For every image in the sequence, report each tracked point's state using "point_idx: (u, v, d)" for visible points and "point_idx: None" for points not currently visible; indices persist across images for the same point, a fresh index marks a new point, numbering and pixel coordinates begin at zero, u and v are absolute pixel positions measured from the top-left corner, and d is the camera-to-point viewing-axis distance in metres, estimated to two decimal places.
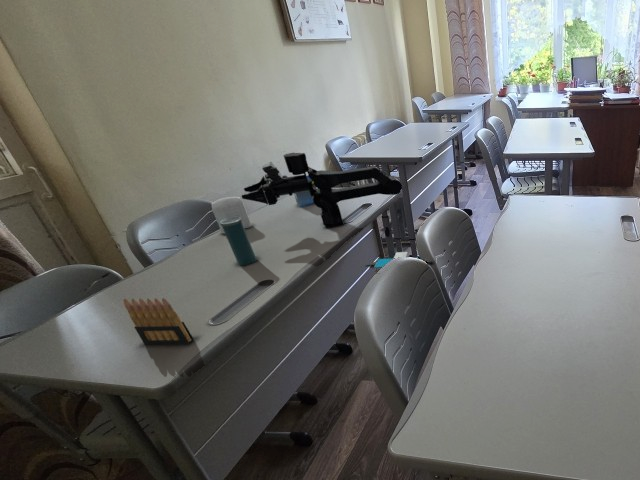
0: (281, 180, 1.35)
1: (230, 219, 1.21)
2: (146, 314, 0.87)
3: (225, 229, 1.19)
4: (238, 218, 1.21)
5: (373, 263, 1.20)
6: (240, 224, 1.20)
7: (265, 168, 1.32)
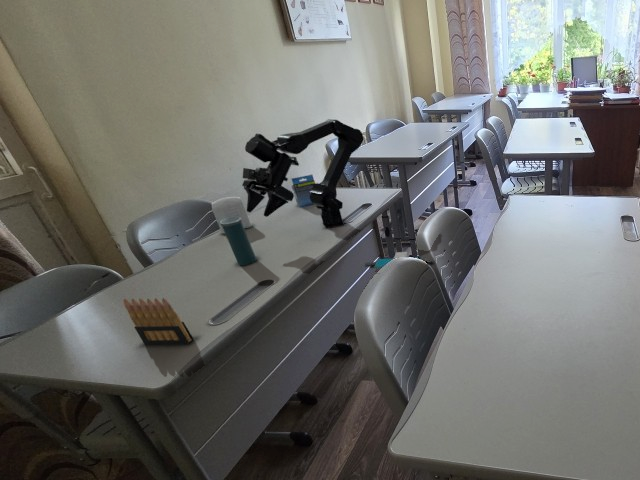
0: (270, 174, 1.24)
1: (230, 219, 1.21)
2: (146, 314, 0.87)
3: (225, 229, 1.19)
4: (238, 218, 1.21)
5: (373, 263, 1.20)
6: (240, 224, 1.20)
7: (251, 176, 1.20)
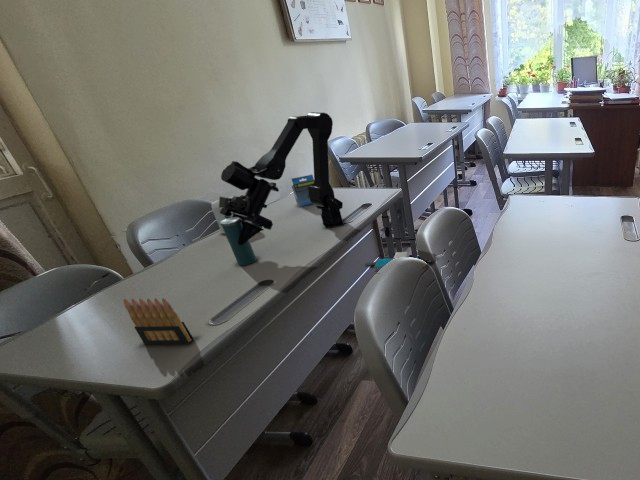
0: (248, 202, 1.21)
1: (231, 219, 1.21)
2: (146, 314, 0.87)
3: (225, 229, 1.18)
4: (238, 218, 1.21)
5: (373, 263, 1.20)
6: (240, 224, 1.20)
7: (227, 206, 1.16)
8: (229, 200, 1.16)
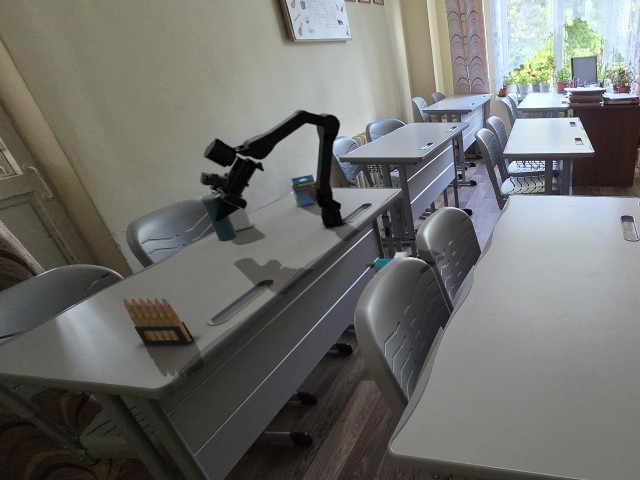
0: (227, 180, 1.21)
1: (212, 195, 1.23)
2: (146, 314, 0.87)
3: (204, 204, 1.21)
4: (218, 195, 1.23)
5: (373, 263, 1.20)
6: (218, 201, 1.22)
7: (205, 182, 1.18)
8: (206, 176, 1.17)
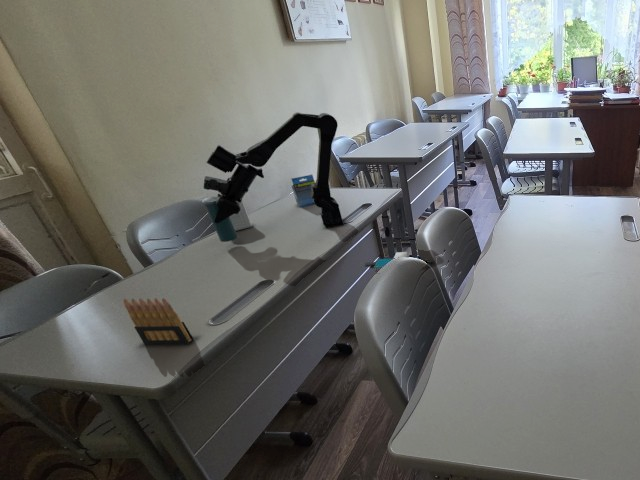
0: (227, 185, 1.28)
1: (215, 197, 1.30)
2: (146, 314, 0.87)
3: (205, 206, 1.29)
4: None
5: (373, 263, 1.20)
6: None
7: (205, 186, 1.25)
8: (205, 181, 1.24)
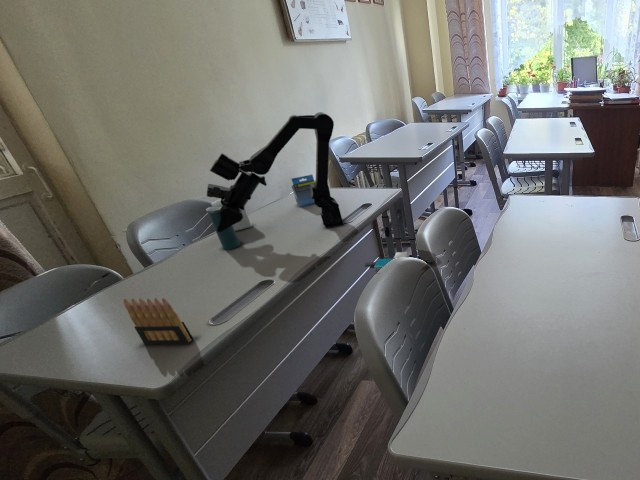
0: (230, 193, 1.29)
1: (218, 206, 1.32)
2: (146, 314, 0.87)
3: (209, 215, 1.30)
4: None
5: (373, 263, 1.20)
6: None
7: (208, 193, 1.26)
8: (208, 189, 1.25)
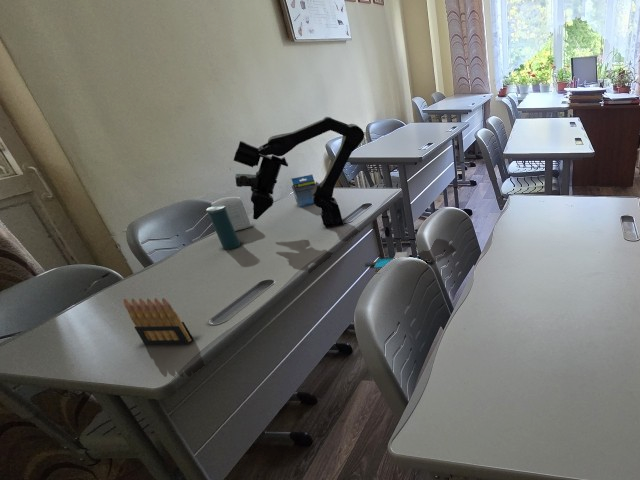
0: (256, 179, 1.32)
1: (218, 206, 1.32)
2: (146, 314, 0.87)
3: (209, 215, 1.30)
4: (222, 207, 1.31)
5: (373, 263, 1.20)
6: (221, 213, 1.30)
7: (237, 183, 1.30)
8: (236, 179, 1.29)
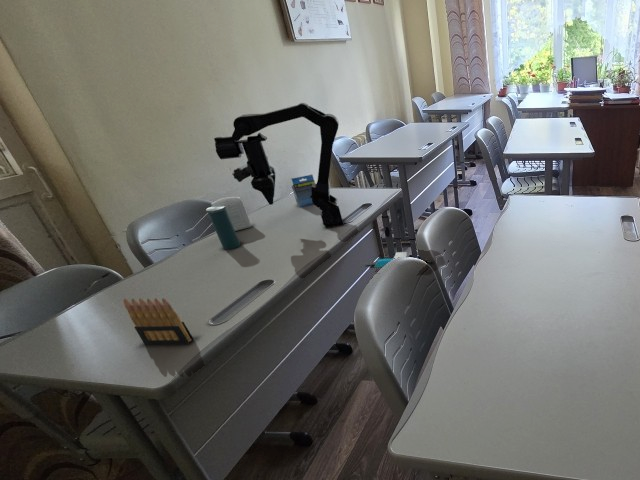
0: (249, 167, 1.32)
1: (218, 206, 1.32)
2: (146, 314, 0.87)
3: (209, 215, 1.30)
4: (222, 207, 1.31)
5: (373, 263, 1.20)
6: (221, 213, 1.30)
7: (238, 179, 1.32)
8: (233, 175, 1.31)
